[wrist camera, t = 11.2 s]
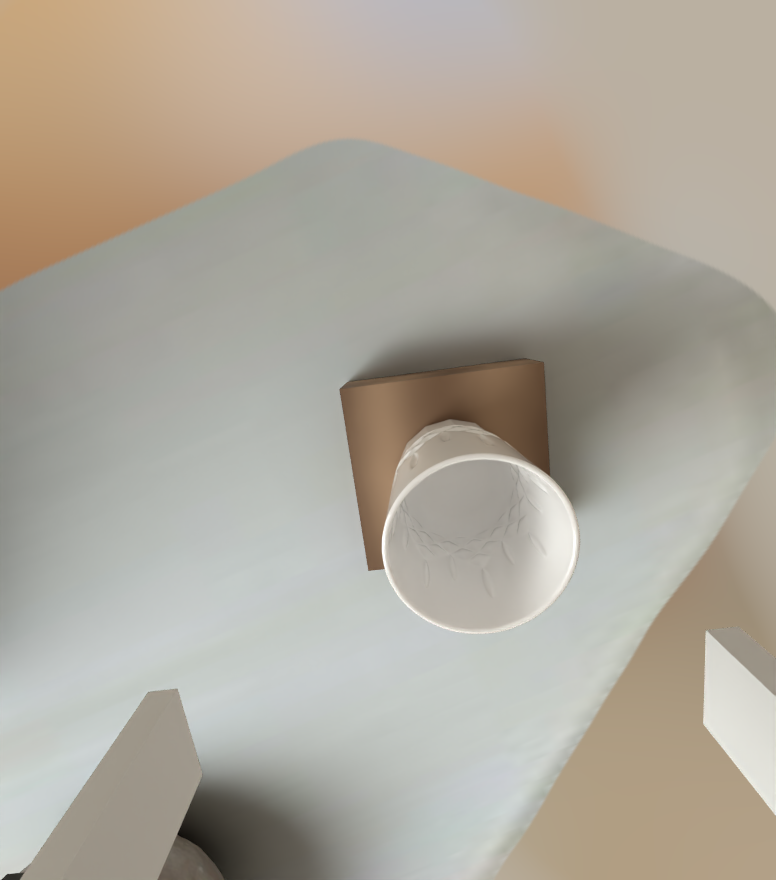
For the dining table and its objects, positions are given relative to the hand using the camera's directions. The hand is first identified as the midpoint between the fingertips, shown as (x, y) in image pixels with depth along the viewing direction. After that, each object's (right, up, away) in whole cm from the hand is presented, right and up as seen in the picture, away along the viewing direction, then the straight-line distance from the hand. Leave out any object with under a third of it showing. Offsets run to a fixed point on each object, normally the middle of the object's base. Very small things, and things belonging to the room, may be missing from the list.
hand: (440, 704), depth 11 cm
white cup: (+3, +5, +17) cm, 17 cm away
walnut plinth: (+3, +6, +20) cm, 21 cm away
